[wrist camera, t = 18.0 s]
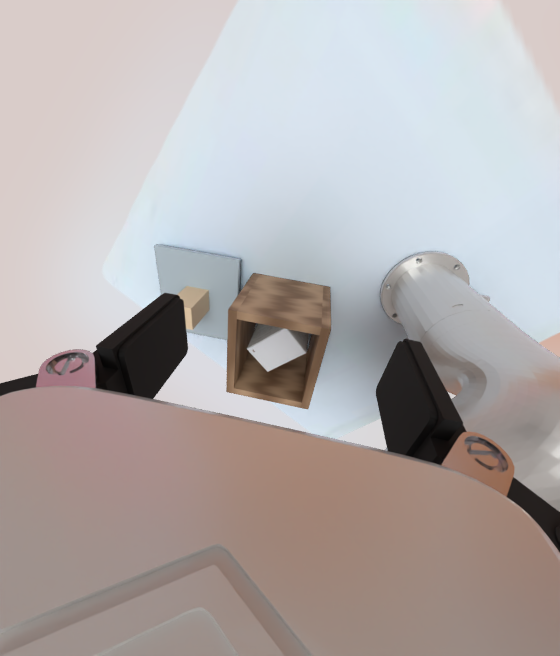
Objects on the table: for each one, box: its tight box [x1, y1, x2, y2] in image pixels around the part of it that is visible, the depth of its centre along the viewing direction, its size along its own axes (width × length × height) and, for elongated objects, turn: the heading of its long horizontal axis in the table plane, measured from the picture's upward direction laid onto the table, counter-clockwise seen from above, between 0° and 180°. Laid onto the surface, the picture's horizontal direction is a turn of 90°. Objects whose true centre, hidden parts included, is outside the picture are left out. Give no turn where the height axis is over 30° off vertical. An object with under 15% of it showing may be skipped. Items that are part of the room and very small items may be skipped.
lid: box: [154, 244, 240, 340], centre depth 44 cm, size 14×16×9 cm
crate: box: [227, 273, 331, 409], centre depth 43 cm, size 13×15×14 cm
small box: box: [247, 323, 309, 372], centre depth 44 cm, size 8×6×10 cm
